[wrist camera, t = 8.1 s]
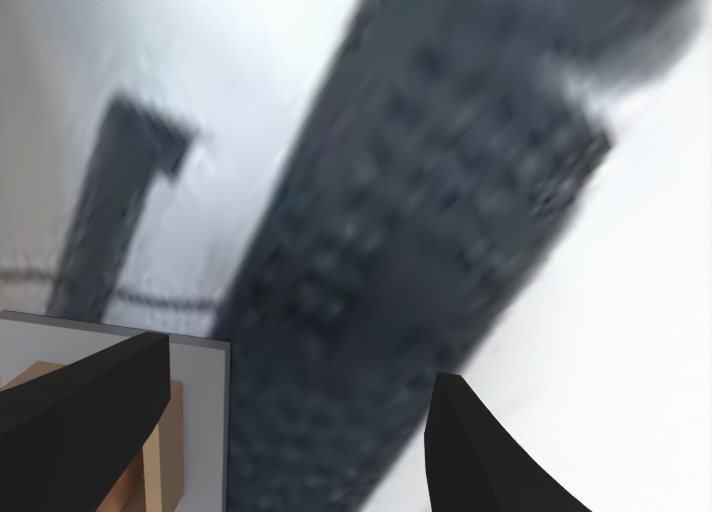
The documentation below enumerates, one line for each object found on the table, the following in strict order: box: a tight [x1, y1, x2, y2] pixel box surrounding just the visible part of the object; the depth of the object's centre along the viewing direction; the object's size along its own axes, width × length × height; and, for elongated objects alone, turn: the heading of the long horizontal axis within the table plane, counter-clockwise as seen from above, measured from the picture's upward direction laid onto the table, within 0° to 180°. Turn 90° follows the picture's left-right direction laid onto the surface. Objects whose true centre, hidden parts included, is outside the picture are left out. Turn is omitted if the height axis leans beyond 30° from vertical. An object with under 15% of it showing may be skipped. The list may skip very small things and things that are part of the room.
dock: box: [0, 310, 231, 512], centre depth 23 cm, size 12×12×3 cm
